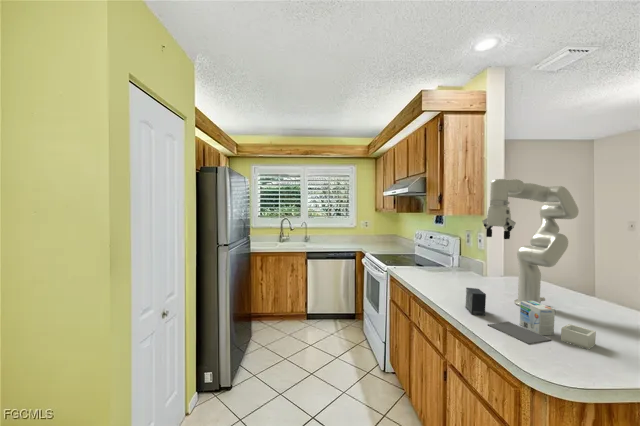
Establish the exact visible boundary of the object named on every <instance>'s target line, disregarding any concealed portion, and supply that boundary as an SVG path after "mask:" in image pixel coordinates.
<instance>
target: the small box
mask: <svg viewBox="0 0 640 426" xmlns="http://www.w3.org/2000/svg"><path fill="white" fill-rule="evenodd" d="M486 299H487V294H486V293H485V292H484V291H482V290H481V289H480V288H476V287H465V306H464V307H465V309H466V310H467V311H468V312H469V314H470V315H475V316H476V315H477V316H486V302H487V301H486Z"/></svg>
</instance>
